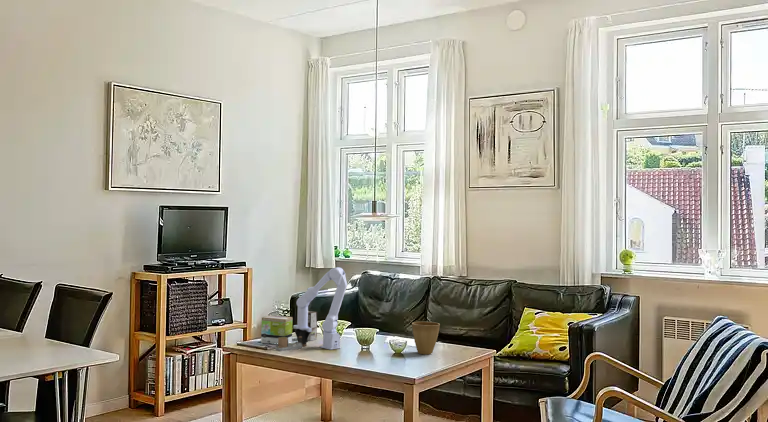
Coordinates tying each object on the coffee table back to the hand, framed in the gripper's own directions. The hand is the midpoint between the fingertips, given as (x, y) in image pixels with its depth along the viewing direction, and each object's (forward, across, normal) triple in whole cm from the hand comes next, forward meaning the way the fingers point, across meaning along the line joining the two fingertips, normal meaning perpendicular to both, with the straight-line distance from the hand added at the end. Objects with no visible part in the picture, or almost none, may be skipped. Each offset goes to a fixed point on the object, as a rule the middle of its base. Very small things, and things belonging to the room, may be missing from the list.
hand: (302, 343), depth 387 cm
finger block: (+1, 0, 0) cm, 1 cm away
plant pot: (+2, +56, +40) cm, 69 cm away
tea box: (+2, -16, -6) cm, 17 cm away
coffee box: (+2, -15, +15) cm, 21 cm away
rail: (+1, +3, -11) cm, 11 cm away
